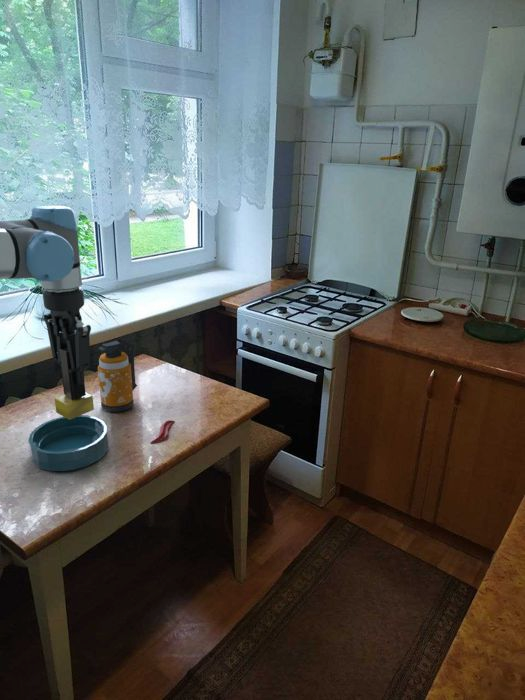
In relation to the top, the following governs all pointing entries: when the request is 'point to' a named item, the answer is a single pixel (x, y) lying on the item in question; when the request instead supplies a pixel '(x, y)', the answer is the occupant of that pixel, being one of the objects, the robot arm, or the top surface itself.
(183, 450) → the top surface
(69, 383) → the scrub brush
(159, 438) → the cayenne pepper
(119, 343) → the canister
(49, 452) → the basin
